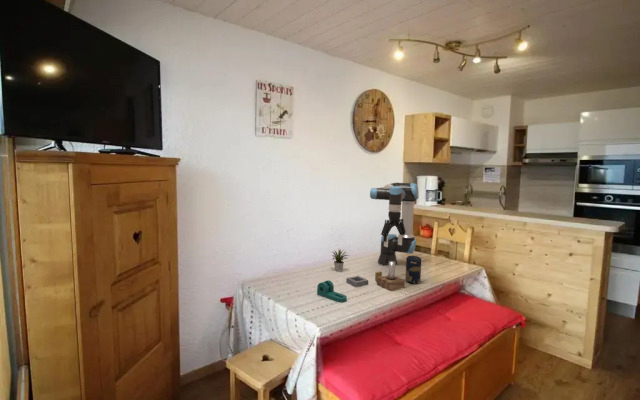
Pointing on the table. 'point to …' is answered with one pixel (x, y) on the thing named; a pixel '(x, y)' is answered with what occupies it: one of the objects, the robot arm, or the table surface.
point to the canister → (413, 269)
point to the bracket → (330, 292)
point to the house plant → (339, 260)
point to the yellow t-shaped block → (378, 275)
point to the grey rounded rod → (391, 270)
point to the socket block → (391, 283)
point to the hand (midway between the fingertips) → (392, 245)
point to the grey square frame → (357, 281)
